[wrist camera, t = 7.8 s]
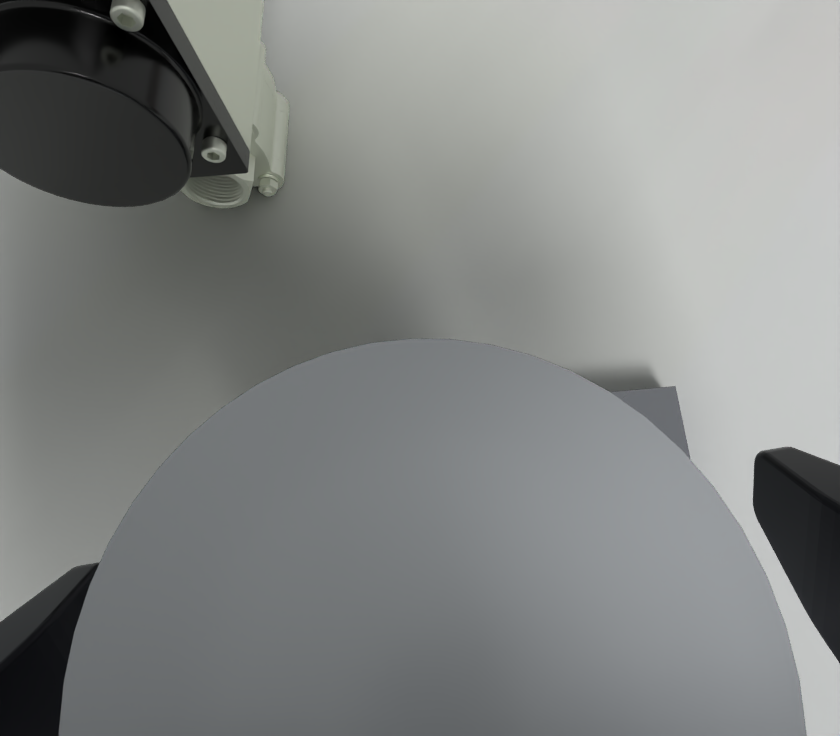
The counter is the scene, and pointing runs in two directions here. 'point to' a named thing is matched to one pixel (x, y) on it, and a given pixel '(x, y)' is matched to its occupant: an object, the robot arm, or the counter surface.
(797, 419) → the counter surface
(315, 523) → the grey cylinder
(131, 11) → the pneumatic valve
